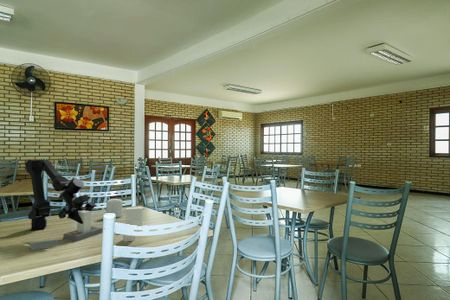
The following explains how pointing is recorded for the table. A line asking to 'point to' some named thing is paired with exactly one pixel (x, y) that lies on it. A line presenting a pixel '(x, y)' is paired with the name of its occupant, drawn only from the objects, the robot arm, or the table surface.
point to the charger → (84, 221)
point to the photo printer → (114, 207)
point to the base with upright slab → (134, 216)
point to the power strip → (82, 234)
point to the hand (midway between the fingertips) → (85, 222)
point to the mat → (43, 244)
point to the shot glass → (128, 238)
